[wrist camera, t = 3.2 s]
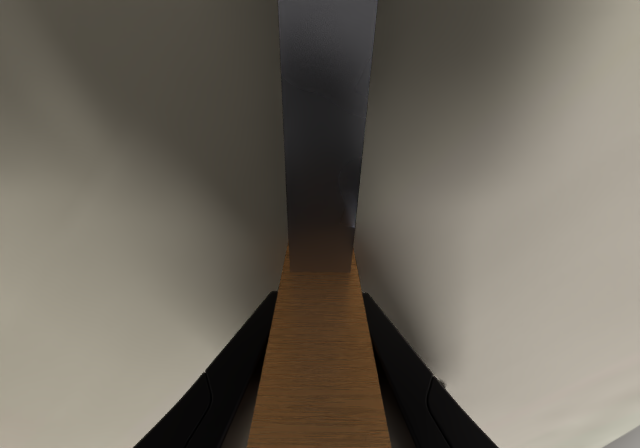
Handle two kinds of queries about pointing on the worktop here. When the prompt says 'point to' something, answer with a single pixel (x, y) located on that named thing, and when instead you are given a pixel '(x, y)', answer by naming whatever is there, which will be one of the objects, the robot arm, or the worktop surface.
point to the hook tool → (322, 239)
